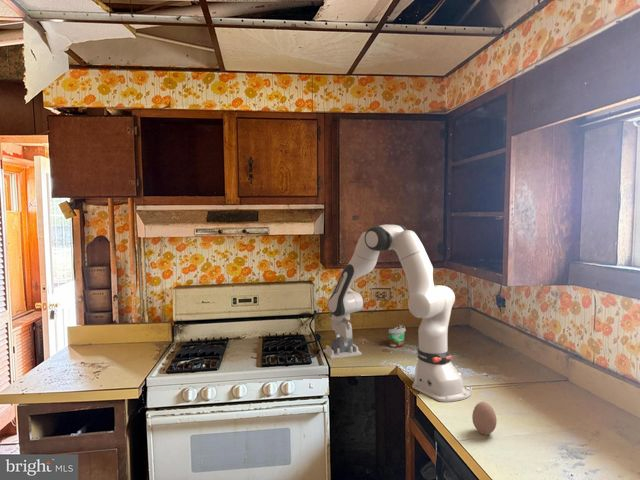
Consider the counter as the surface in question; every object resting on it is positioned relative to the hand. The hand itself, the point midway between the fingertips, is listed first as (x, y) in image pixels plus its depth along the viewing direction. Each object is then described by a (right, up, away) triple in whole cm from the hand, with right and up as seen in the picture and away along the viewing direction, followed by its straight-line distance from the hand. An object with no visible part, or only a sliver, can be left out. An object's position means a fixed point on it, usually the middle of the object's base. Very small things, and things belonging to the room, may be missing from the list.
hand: (341, 343), depth 195 cm
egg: (+39, -7, -77) cm, 86 cm away
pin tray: (0, -5, 0) cm, 5 cm away
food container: (+31, -4, +9) cm, 32 cm away
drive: (0, -4, 0) cm, 4 cm away
